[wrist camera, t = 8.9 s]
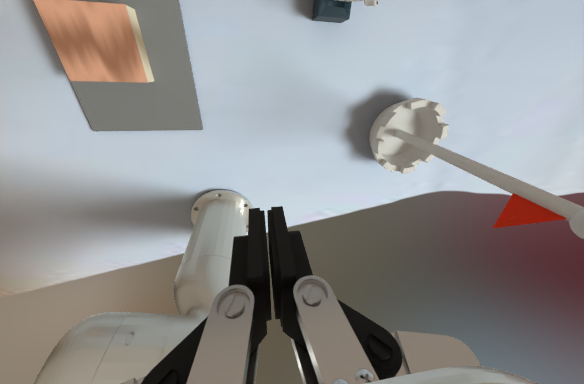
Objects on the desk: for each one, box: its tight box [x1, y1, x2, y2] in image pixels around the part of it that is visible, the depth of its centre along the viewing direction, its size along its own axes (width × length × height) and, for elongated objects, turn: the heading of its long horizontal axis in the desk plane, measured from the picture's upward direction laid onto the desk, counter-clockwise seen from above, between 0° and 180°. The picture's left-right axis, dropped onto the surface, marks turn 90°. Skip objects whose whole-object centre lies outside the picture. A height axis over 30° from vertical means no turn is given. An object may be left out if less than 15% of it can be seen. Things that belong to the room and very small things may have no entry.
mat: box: [70, 0, 203, 131], centre depth 28 cm, size 22×16×1 cm
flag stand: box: [369, 98, 584, 239], centre depth 28 cm, size 13×13×30 cm
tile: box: [33, 0, 154, 83], centre depth 26 cm, size 8×2×9 cm
